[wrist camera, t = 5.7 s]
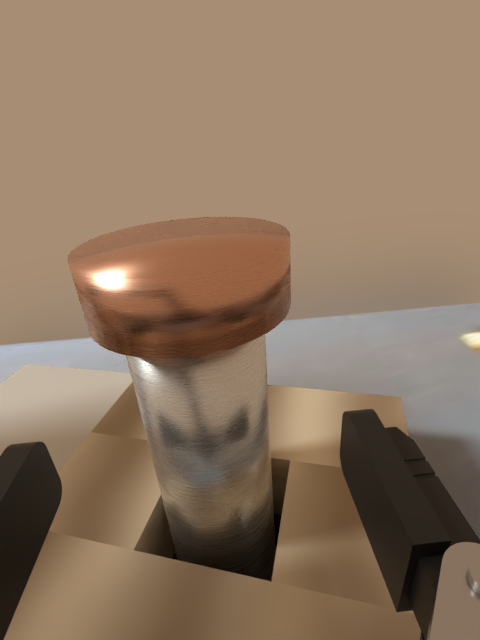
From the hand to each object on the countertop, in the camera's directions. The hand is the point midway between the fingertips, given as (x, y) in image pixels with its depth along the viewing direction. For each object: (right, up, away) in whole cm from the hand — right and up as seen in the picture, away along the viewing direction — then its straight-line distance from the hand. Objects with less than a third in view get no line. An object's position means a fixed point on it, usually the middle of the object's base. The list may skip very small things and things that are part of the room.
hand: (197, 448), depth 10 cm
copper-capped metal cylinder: (+1, -8, +7) cm, 10 cm away
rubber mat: (-13, -4, +16) cm, 21 cm away
